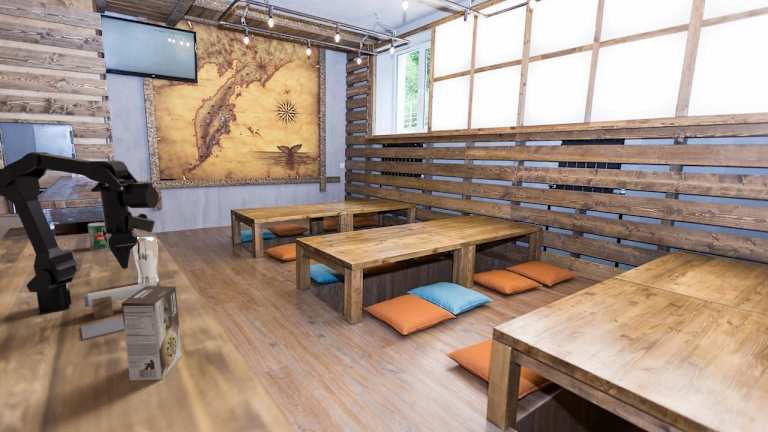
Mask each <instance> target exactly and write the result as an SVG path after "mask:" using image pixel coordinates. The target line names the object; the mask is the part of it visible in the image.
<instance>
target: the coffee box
mask: <svg viewBox="0 0 768 432" xmlns="http://www.w3.org/2000/svg"><path fill="white" fill-rule="evenodd" d="M177 299H178V298H177V290H176V285H174V286H171V285H170V286H165V285H160V286H145V287H144V288H142V289H141V290H139V291H138V292H136V293H135V294H134V295H132V296H131V297H129V298H127V299H124V301H123V302H121V303H120V304H121V311H122V312H121V313H122V317H123V322H124V331H123V332H124V337H125V338H124V339H125V348H126V349H125V350H126V357H127V358H126V359H127V368H128V377H129V380H130V382H131V381H134V382H135V381H161V380H164V378H165V377H166V376H167V374H168V373H169V372H170V371H171V370H172V368H173V367H174V366H175V365H176V363H177V362H178V361H179V360H180V358H181V357H182V355H183V353H182V344H181V332H180V321H179V320H180V319H179V309H178V300H177Z"/></svg>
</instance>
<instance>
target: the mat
mask: <svg viewBox="0 0 768 432" xmlns="http://www.w3.org/2000/svg"><path fill="white" fill-rule="evenodd" d="M80 330H81V331H80V332H81V336H82V341H85V340H90V339H94V338H98V337H103V336H107V335H111V334H114V333H115V334H116V333H119V332H125V331H124V322H123V316H122V317H118V318H114V319H113V318H112V319H109V320H105V321H100V322H96V323H92V324H87V325H82V326H81V325H80Z"/></svg>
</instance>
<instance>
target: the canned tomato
mask: <svg viewBox="0 0 768 432" xmlns="http://www.w3.org/2000/svg"><path fill="white" fill-rule="evenodd" d="M104 226H105V225H104V221H101V222H92V223H88V224H87V229H88V236H89V237H88V238H89V247H90V248H89V250H90V251H104V249H105V250H109V249H110V248H109V247H108V244H107V243H106V241H105V239H104V238H103V237H105V236H103V235H102V228H103V227H104ZM106 236H107V234H106ZM108 248H109V249H108Z"/></svg>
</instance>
